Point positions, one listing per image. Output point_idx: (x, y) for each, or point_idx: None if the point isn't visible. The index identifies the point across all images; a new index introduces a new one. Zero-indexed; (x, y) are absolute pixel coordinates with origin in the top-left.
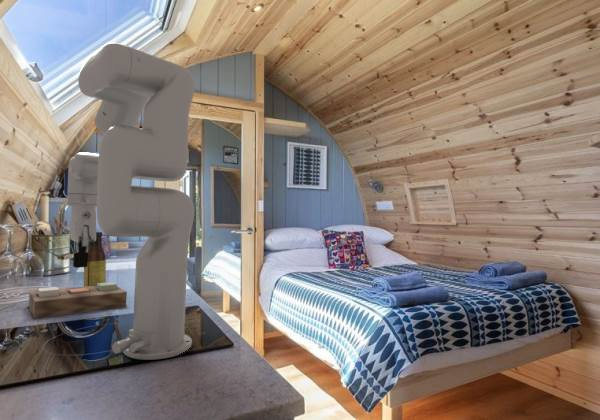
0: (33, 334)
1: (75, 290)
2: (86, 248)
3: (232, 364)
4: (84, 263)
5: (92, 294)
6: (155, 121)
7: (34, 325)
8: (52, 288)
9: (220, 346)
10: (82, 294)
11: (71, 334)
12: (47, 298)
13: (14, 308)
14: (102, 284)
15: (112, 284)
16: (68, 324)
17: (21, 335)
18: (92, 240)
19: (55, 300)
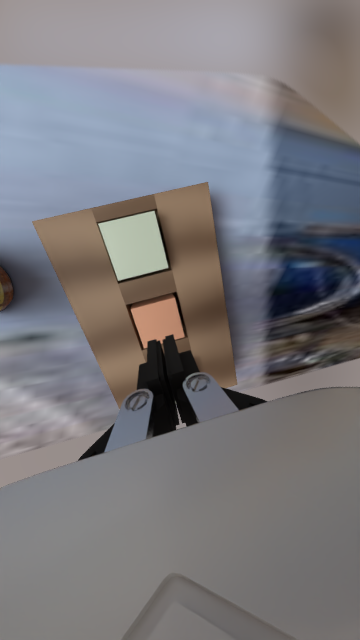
0: (312, 346)
1: (165, 331)
2: (248, 395)
3: None
4: (190, 350)
5: (208, 286)
6: None
7: (268, 355)
8: None
9: None
10: (199, 309)
11: (343, 300)
12: (216, 371)
13: None
14: (144, 262)
15: (153, 227)
16: (288, 311)
17: (308, 359)
18: (229, 424)
19: (232, 354)
